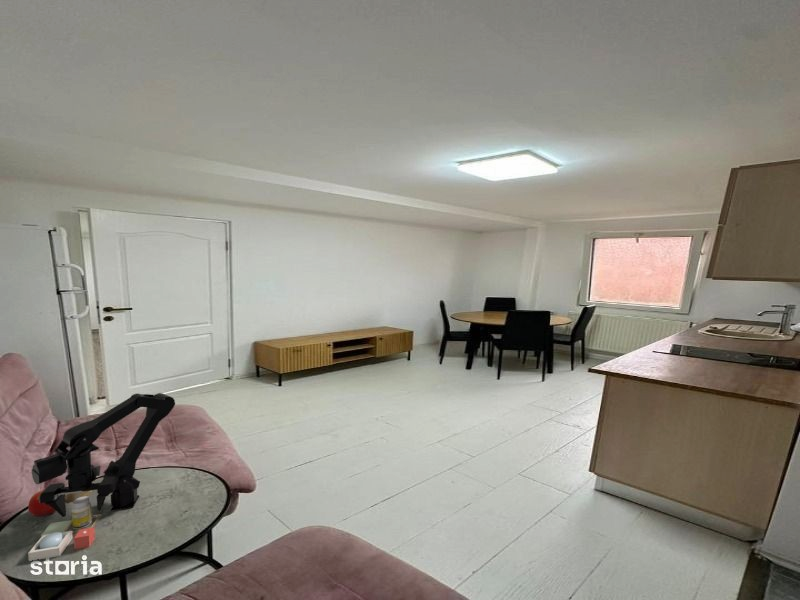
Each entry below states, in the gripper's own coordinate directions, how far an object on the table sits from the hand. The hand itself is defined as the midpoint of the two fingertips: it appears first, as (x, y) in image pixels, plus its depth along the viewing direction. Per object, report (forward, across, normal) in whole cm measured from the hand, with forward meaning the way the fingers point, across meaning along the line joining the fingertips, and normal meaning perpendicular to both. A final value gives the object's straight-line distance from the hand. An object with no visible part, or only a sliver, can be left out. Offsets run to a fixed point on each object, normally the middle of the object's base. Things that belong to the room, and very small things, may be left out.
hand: (82, 513), depth 118 cm
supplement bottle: (+4, 0, 0) cm, 4 cm away
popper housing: (+4, +4, +10) cm, 11 cm away
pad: (+4, +7, 0) cm, 8 cm away
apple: (+4, +14, -9) cm, 17 cm away
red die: (+4, -4, +10) cm, 11 cm away
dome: (+3, +4, +10) cm, 11 cm away
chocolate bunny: (+4, +8, -17) cm, 19 cm away
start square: (+4, 0, 0) cm, 4 cm away
